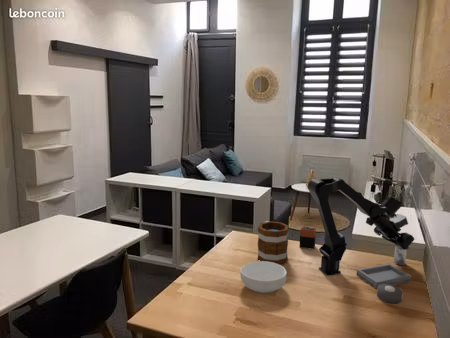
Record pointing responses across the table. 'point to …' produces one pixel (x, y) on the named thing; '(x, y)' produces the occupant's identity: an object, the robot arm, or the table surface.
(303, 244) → the battery
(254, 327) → the table surface
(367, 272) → the tray
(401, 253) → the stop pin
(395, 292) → the trolley wheel
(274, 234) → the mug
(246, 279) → the cereal bowl
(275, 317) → the table surface
